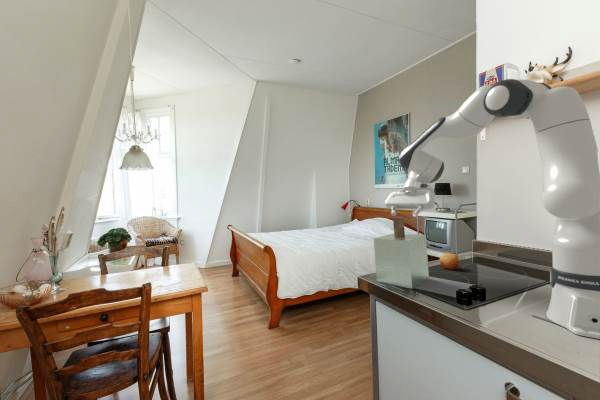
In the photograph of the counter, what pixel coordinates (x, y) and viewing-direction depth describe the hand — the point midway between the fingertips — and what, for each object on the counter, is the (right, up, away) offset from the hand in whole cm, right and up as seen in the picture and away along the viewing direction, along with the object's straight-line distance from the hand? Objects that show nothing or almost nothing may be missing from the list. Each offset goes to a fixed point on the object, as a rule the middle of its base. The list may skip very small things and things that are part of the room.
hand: (403, 215), depth 116 cm
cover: (-1, -27, -1) cm, 27 cm away
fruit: (+26, -26, +13) cm, 39 cm away
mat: (+11, -27, -11) cm, 31 cm away
